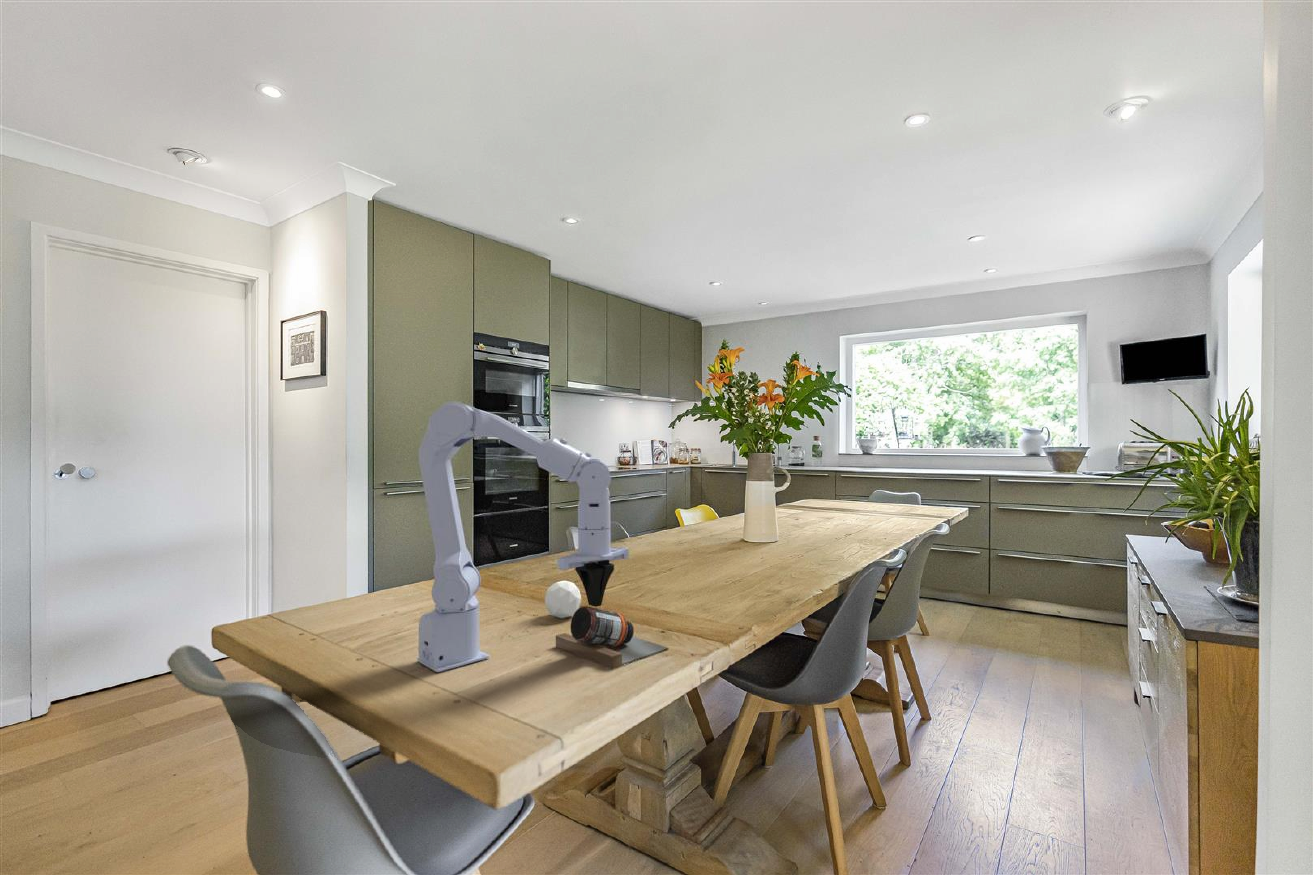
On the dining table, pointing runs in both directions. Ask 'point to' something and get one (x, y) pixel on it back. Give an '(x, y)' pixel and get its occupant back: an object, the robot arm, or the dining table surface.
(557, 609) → the geometric ball
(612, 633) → the supplement bottle
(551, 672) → the dining table surface
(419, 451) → the robot arm
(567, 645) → the stop bar and mat
